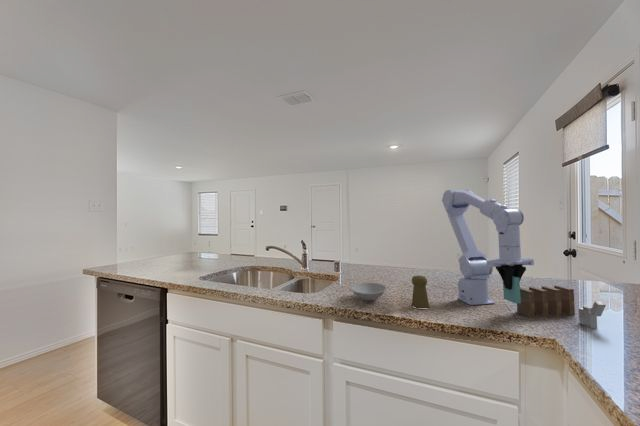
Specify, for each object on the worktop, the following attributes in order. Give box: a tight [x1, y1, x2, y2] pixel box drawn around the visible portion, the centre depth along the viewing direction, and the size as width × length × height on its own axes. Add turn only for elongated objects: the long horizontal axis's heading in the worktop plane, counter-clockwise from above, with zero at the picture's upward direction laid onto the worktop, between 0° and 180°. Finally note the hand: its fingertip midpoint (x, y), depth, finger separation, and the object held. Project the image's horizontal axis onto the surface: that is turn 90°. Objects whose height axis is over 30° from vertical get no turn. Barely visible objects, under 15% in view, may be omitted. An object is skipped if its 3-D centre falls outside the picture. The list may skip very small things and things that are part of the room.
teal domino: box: [502, 276, 521, 305], centre depth 87 cm, size 2×5×8 cm, turn 4°
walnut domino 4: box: [553, 284, 576, 316], centre depth 88 cm, size 2×5×8 cm, turn 4°
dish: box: [350, 281, 388, 301], centre depth 108 cm, size 18×14×5 cm
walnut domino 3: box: [541, 285, 563, 317], centre depth 88 cm, size 2×5×8 cm, turn 4°
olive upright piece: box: [411, 275, 430, 309], centre depth 98 cm, size 6×6×11 cm
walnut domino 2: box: [528, 286, 549, 318], centre depth 87 cm, size 2×5×8 cm, turn 4°
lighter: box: [578, 300, 607, 329], centre depth 76 cm, size 7×2×8 cm, turn 172°
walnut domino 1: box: [516, 286, 536, 318], centre depth 87 cm, size 2×5×8 cm, turn 4°
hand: (511, 288), depth 87 cm, fingers closed on teal domino, 1 cm apart
